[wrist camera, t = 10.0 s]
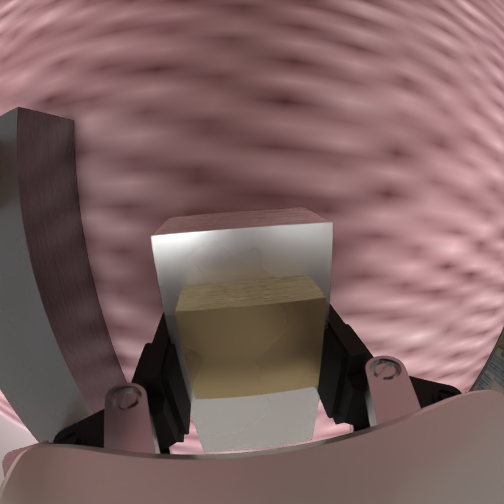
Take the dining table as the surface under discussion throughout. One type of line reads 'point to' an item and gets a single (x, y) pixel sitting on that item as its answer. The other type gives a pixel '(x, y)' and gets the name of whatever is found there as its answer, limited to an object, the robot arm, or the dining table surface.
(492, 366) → the beverage carton
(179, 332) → the white box
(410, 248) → the dining table surface
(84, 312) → the plane body
